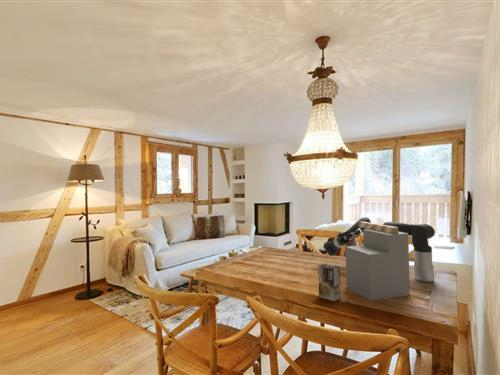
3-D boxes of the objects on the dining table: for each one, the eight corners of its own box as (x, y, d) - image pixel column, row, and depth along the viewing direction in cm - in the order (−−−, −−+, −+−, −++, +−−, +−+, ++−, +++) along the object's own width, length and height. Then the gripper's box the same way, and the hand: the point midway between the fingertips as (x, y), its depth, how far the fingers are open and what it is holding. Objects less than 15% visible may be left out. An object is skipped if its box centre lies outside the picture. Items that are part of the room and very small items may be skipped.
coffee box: (340, 298, 142) (340, 266, 142) (334, 301, 138) (333, 269, 138) (324, 293, 149) (324, 263, 149) (318, 296, 144) (317, 265, 144)
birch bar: (358, 226, 171) (358, 221, 171) (363, 226, 172) (362, 221, 172) (393, 233, 144) (393, 227, 144) (398, 233, 145) (398, 226, 145)
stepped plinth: (346, 287, 157) (345, 230, 157) (381, 282, 163) (380, 228, 164) (370, 300, 138) (369, 236, 138) (409, 295, 144) (408, 233, 144)
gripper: (352, 245, 191) (365, 236, 178) (333, 246, 187) (346, 237, 174) (348, 234, 195) (361, 225, 181) (330, 236, 191) (342, 226, 178)
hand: (353, 231), depth 178 cm, fingers open, 8 cm apart
